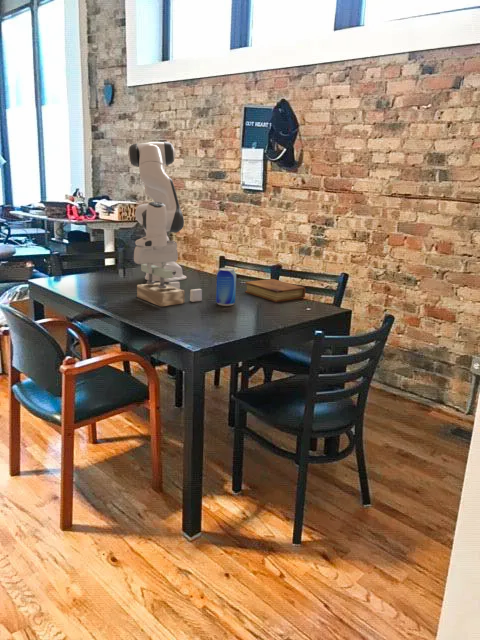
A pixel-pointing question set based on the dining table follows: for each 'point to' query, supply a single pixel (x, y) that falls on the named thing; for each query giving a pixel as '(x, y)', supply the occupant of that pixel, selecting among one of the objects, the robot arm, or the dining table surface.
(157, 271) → the grey bridge block
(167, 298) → the wooden compartment box
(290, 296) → the diary
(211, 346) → the dining table surface
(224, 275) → the beer can
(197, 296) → the stand
